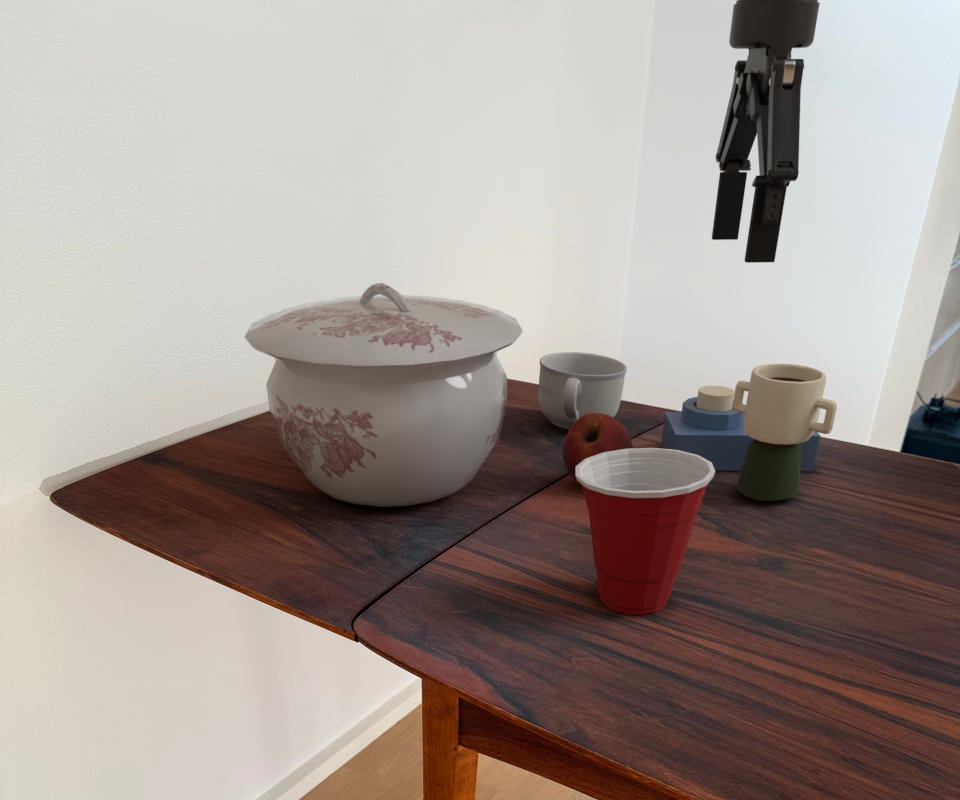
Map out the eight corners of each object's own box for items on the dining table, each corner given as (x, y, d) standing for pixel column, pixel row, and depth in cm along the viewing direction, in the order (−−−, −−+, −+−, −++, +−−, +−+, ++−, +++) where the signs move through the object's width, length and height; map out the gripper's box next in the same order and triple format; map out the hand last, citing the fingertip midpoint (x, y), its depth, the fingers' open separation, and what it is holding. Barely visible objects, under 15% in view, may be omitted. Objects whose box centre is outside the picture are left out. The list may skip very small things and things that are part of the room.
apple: (546, 485, 96) (548, 413, 92) (589, 466, 101) (594, 397, 96) (600, 504, 91) (606, 430, 87) (643, 483, 96) (651, 412, 92)
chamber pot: (506, 545, 83) (510, 318, 72) (228, 529, 86) (191, 309, 75) (528, 444, 107) (534, 261, 96) (309, 434, 110) (290, 256, 99)
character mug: (829, 500, 92) (858, 376, 85) (797, 520, 88) (825, 391, 81) (737, 473, 99) (757, 355, 92) (703, 490, 95) (721, 369, 88)
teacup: (555, 406, 119) (558, 346, 115) (632, 417, 115) (638, 355, 111) (513, 437, 109) (515, 372, 105) (596, 451, 105) (601, 384, 101)
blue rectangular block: (793, 445, 106) (802, 396, 103) (813, 471, 99) (824, 419, 96) (660, 444, 107) (666, 395, 104) (671, 470, 100) (677, 418, 96)
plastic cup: (610, 557, 81) (621, 431, 75) (717, 593, 76) (739, 459, 69) (541, 602, 74) (547, 467, 68) (654, 645, 68) (671, 502, 62)
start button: (727, 403, 102) (730, 385, 101) (735, 414, 99) (738, 395, 98) (693, 402, 102) (695, 385, 101) (699, 413, 99) (702, 395, 98)
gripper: (704, 4, 90) (680, 231, 101) (777, -16, 69) (735, 273, 80) (777, 4, 90) (744, 230, 101) (872, -16, 69) (817, 272, 80)
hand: (740, 250), depth 91 cm, fingers open, 13 cm apart
